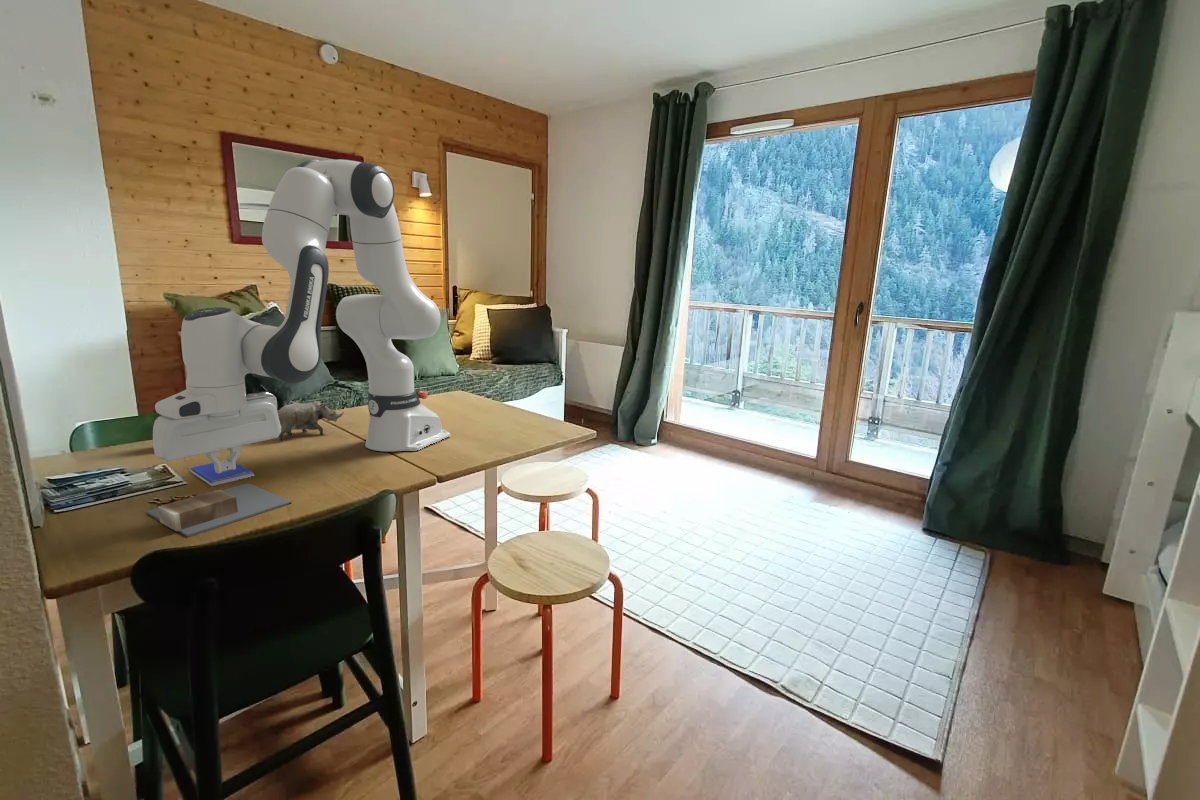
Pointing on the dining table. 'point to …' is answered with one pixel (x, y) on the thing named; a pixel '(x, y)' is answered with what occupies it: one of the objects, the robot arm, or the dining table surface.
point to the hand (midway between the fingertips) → (225, 471)
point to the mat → (248, 505)
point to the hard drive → (220, 474)
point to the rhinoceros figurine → (304, 417)
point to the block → (197, 509)
